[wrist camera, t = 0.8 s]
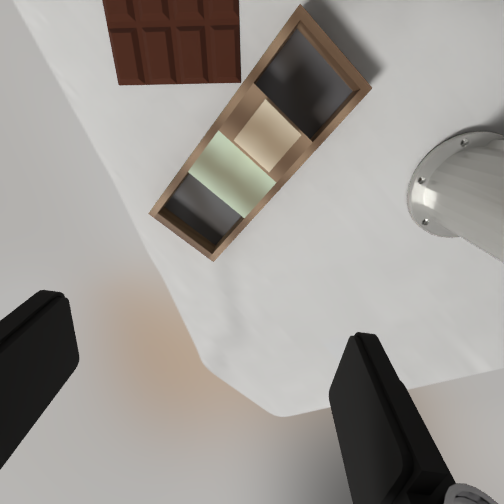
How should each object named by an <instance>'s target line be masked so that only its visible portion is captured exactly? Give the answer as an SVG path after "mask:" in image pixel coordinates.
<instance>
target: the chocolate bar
mask: <svg viewBox="0 0 504 504" xmlns="http://www.w3.org/2000/svg"><path fill="white" fill-rule="evenodd" d="M102 1H103V6H104V11H105V16H106V21H107V26H108V32H109V37H110V42H111V47H112V52H113V58H114V63H115V68H116V73H117V78H118V84H119V85H155V84H201V83H241V66H240V30H239V0H102Z"/></svg>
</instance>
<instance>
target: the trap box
mask: <svg viewBox="0 0 504 504" xmlns="http://www.w3.org/2000/svg"><path fill="white" fill-rule="evenodd" d="M371 89H372V87H371V86H370V85H369V83H368V82H367V81H366V80H365V79H364V78H363V76H362V75H361V74H360V73H359V72H358V71H357V69H356V68H355V67H354V66H353V65H352V64H351V62H350V61H349V60H348V59H347V58H346V57H345V55H344V54H343V53H342V52H341V51H340V50H339V48H338V47H337V46H336V45H335V44H334V43H333V41H332V40H331V39H330V38H329V37H328V36H327V34H326V33H325V32H324V31H323V30H322V29H321V27H320V26H319V25H318V24H317V23H316V22H315V20H314V19H313V18H312V17H311V16H310V15H309V13H308V12H307V11H306V10H305V9H304V8H303V6H302V5H301V4H300V5H299V6H298V7H297V9H296V10H295V12H294V13H293V14H292V16H291V17H290V19H289V20H288V21H287V23H286V24H285V25H284V27H283V28H282V30H281V31H280V32H279V34H278V35H277V36H276V38H275V39H274V41H273V42H272V43H271V45H270V46H269V48H268V49H267V50H266V52H265V53H264V54H263V56H262V57H261V59H260V60H259V61H258V63H257V64H256V66H255V67H254V68H253V70H252V71H251V72H250V74H249V75H248V77H247V78H246V79H245V81H244V82H243V83H242V85H241V86H240V88H239V89H238V90H237V92H236V93H235V95H234V96H233V97H232V99H231V100H230V101H229V103H228V104H227V106H226V107H225V108H224V110H223V111H222V112H221V114H220V115H219V117H218V118H217V119H216V121H215V122H214V124H213V125H212V126H211V128H210V129H209V130H208V132H207V133H206V135H205V136H204V137H203V139H202V140H201V142H200V143H199V144H198V146H197V147H196V148H195V150H194V151H193V153H192V154H191V155H190V157H189V158H188V159H187V161H186V162H185V164H184V165H183V166H182V168H181V169H180V171H179V172H178V173H177V175H176V176H175V177H174V179H173V180H172V182H171V183H170V184H169V186H168V187H167V189H166V190H165V191H164V193H163V194H162V195H161V197H160V198H159V200H158V201H157V202H156V204H155V205H154V206H153V208H152V209H151V211H150V212H149V213H148V214H150V215H151V216H152V217H154V218H155V219H156V220H158V221H159V222H160V223H162V224H163V225H164V226H166V227H167V228H168V229H170V230H171V231H172V232H174V233H175V234H176V235H178V236H179V237H181V238H182V239H183V240H185V241H186V242H187V243H189V244H190V245H191V246H193V247H194V248H195V249H197V250H198V251H199V252H201V253H202V254H203V255H205V256H206V257H207V258H209V259H210V260H212V261H213V262H214V261H215V260H216V258H217V257H218V256H219V255H220V254H221V253H222V252H223V251H224V250H225V249H226V248H227V246H228V245H229V244H230V243H231V242H232V241H233V240H234V239H235V238H236V237H237V236H238V234H239V233H240V232H241V231H242V230H243V229H244V228H245V227H246V226H247V225H248V224H249V222H250V221H251V220H252V219H253V218H254V217H255V216H256V215H257V214H258V213H259V211H260V210H261V209H262V208H263V207H264V206H265V205H266V204H267V203H268V202H269V201H270V199H271V198H272V197H273V196H274V195H275V194H276V193H277V192H278V191H279V190H280V189H281V187H282V186H283V185H284V184H285V183H286V182H287V181H288V180H289V179H290V178H291V176H292V175H293V174H294V173H295V172H296V171H297V170H298V169H299V168H300V167H301V166H302V164H303V163H304V162H305V161H306V160H307V159H308V158H309V157H310V156H311V155H312V154H313V152H314V151H315V150H316V149H317V148H318V147H319V146H320V145H321V144H322V143H323V141H324V140H325V139H326V138H327V137H328V136H329V135H330V134H331V133H332V132H333V131H334V129H335V128H336V127H337V126H338V125H339V124H340V123H341V122H342V121H343V120H344V119H345V117H346V116H347V115H348V114H349V113H350V112H351V111H352V110H353V109H354V108H355V107H356V105H357V104H358V103H359V102H360V101H361V100H362V99H363V98H364V97H365V96H366V94H367V93H368V92H369V91H370V90H371ZM265 99H266V100H267V101H268V102H269V103H270V104H271V105H272V106H273V107H274V108H275V109H276V110H277V111H278V112H279V113H280V114H281V115H282V116H283V117H284V118H285V119H286V120H287V121H288V122H289V123H290V124H291V125H292V126H293V127H294V128H295V129H296V130H297V131H298V132H299V133H300V134H301V136H300V137H299V139H298V140H297V141H296V142H295V143H294V144H293V145H292V147H291V148H290V149H289V150H288V151H287V152H286V153H285V155H284V156H283V157H282V158H281V159H280V160H279V161H278V163H277V164H276V165H275V166H274V167H273V168H272V170H271V171H270V172H268V171H267V170H266V169H265V168H263V167H262V166H261V165H260V164H259V163H258V162H257V161H256V160H255V159H254V158H252V157H251V156H250V155H249V154H248V153H247V152H246V151H245V150H244V149H242V148H241V147H240V146H239V145H238V144H237V143H236V142H235V141H234V139H235V138H236V137H237V135H238V134H239V133H240V131H241V130H242V129H243V128H244V126H245V125H246V124H247V122H248V121H249V120H250V118H251V117H252V116H253V115H254V113H255V112H256V111H257V109H258V108H259V107H260V106H261V104H262V103H263V102H264V100H265Z"/></svg>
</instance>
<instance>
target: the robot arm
mask: <svg viewBox="0 0 504 504" xmlns="http://www.w3.org/2000/svg"><path fill="white" fill-rule="evenodd" d="M461 141H462V142H461ZM419 178H420V180H418V179H419ZM407 205H408V209H409V213H410V215H411V217H412V219H413V220H414V221H415V223H416V224H417V225H418V226H419V227H421V228H422V229H423V230H425V231H426V232H428V233H430V234H432V235H435V236H439V237H446V238H453V237H461V238H463V239H465V240H466V241H468V242H470V243H471V244H473V245H474V246H476V247H478V248H479V249H481V250H483V251H484V252H486V253H488V254H489V255H491V256H493V257H494V258H496V259H497V260H499V261H501V262H502V263H504V136H503V135H501V134H497V133H492V132H481V131H478V132H468V133H465V134H461V135H458V136H455V137H453V138H451V139H449V140H447V141H445V142H443V143H442V144H440V145H439V146H437V147H436V148H435V149H434V150H432V151H431V152H430V153H429V154H428V155H427V156H426V157H425V158H424V159H423V161H422V162H421V163H420V164H419V166H418V167H417V169H416V171H415V172H414V174H413V176H412V179H411V181H410V184H409V188H408V193H407ZM78 362H79V352H78V347H77V342H76V336H75V331H74V326H73V320H72V315H71V310H70V304H69V300H68V299H67V298H65V296H64V294H63V293H61V292H55V291H47V290H40V291H39V292H37V293H36V294H34V295H33V296H32V297H30V298H29V299H28V300H27V301H25V302H24V303H23V304H21V305H20V306H19V307H17V308H16V309H15V310H14V311H12V312H11V313H10V314H9V315H7V316H6V317H5V318H3V319H2V320H1V321H0V469H1V468H2V467H3V465H4V464H5V463H6V461H7V460H8V459H9V457H10V456H11V454H12V453H13V452H14V451H15V449H16V448H17V446H18V445H19V444H20V443H21V441H22V440H23V439H24V437H25V436H26V435H27V433H28V432H29V430H30V429H31V428H32V426H33V425H34V424H35V422H36V421H37V420H38V418H39V417H40V416H41V414H42V413H43V412H44V410H45V409H46V408H47V406H48V405H49V404H50V402H51V401H52V400H53V398H54V397H55V395H56V394H57V393H58V392H59V390H60V389H61V388H62V386H63V385H64V384H65V382H66V381H67V380H68V378H69V377H70V376H71V374H72V373H73V372H74V370H75V369H76V367H77V365H78ZM329 401H330V406H331V410H332V414H333V419H334V423H335V427H336V432H337V436H338V440H339V444H340V449H341V453H342V458H343V462H344V466H345V471H346V475H347V479H348V484H349V488H350V492H351V496H352V501H353V504H498V503H497V502H496V501H494V500H493V499H492V498H491V497H490V496H488V495H487V494H485V493H484V492H482V491H481V490H479V489H477V488H476V487H473V486H470V485H467V484H460V483H459V484H458V483H455V481H454V479H453V477H452V475H451V473H450V471H449V469H448V468H447V466H446V464H445V462H444V460H443V458H442V456H441V454H440V452H439V450H438V448H437V446H436V445H435V443H434V441H433V439H432V437H431V435H430V433H429V431H428V429H427V427H426V425H425V424H424V422H423V420H422V418H421V416H420V414H419V412H418V410H417V408H416V407H415V404H414V403H413V401H412V399H411V397H410V395H409V393H408V391H407V389H406V387H405V386H404V384H403V383H402V382H401V381H400V380H399V378H398V376H397V374H396V372H395V370H394V368H393V366H392V364H391V362H390V360H389V358H388V356H387V354H386V353H385V351H384V349H383V347H382V345H381V343H380V341H379V339H378V337H377V336H376V335H375V334H369V333H361V332H357V333H356V334H355V336H350V338H349V340H348V342H347V345H346V348H345V350H344V353H343V355H342V358H341V361H340V363H339V366H338V369H337V371H336V374H335V376H334V379H333V382H332V384H331V387H330V390H329Z"/></svg>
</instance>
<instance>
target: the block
mask: <svg viewBox="0 0 504 504" xmlns="http://www.w3.org/2000/svg"><path fill="white" fill-rule="evenodd" d="M300 136H301V134H300V133H299V132H298V131H297V130H296V129H295V128H294V127H293V126H292V125H291V124H290V123H289V122H288V121H287V120H286V119H285V118H284V117H283V116H282V115H281V114H280V113H279V112H278V111H277V110H276V109H275V108H274V107H273V106H272V105H271V104H270V103H269V102H268V101H267V100H266V99H265V100H264V102H263V103H262V104H261V106H260V107H259V108H258V109H257V111H256V112H255V113H254V115H253V116H252V117H251V118H250V120H249V121H248V122H247V124H246V125H245V126H244V128H243V129H242V130H241V131H240V133H239V134H238V135H237V137H236V138H235V139H234V141H235V142H236V143H237V144H238V145H239V146H240V147H241V148H242V149H244V150H245V151H246V152H247V153H248V154H249V155H250V156H251V157H252V158H254V159H255V160H256V161H257V162H258V163H259V164H260V165H261V166H262V167H263V168H265V169H266V170H267V171H268V172H270V171H271V170H272V168H273V167H274V166H275V165H276V164H277V163H278V161H279V160H280V159H281V158H282V157H283V156H284V155H285V153H286V152H287V151H288V150H289V149H290V148H291V147H292V145H293V144H294V143H295V142H296V141H297V140H298V139H299V137H300Z"/></svg>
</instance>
